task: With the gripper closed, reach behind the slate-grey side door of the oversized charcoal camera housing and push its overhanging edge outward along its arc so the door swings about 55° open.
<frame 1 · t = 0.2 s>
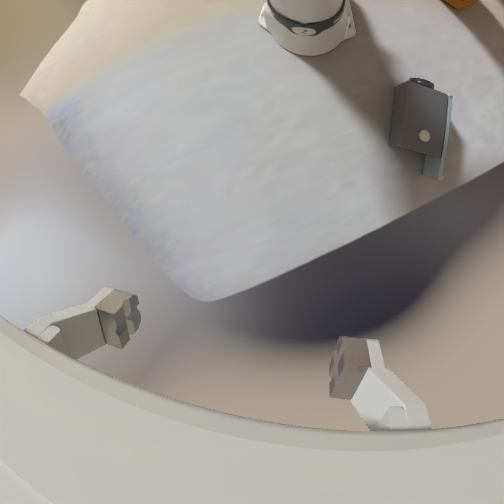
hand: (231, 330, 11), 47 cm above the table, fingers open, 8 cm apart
side door: (439, 136, 41), point 4 cm above the table, hinge at 0.0°
camera housing: (410, 120, 44), on the table
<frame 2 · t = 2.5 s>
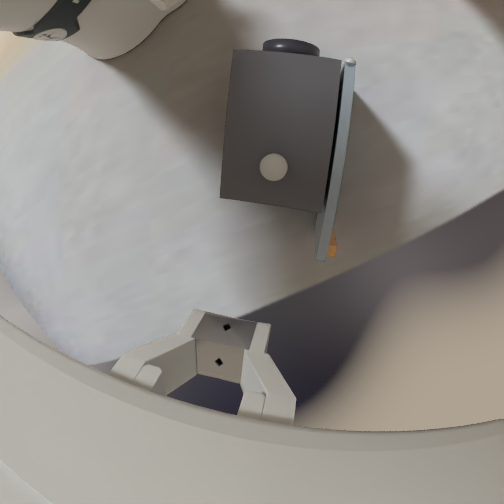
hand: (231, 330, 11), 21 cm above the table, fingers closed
side door: (339, 157, 23), point 4 cm above the table, hinge at 0.0°
camera housing: (286, 129, 27), on the table
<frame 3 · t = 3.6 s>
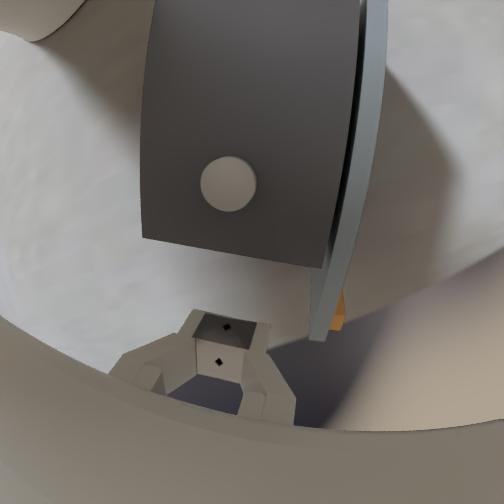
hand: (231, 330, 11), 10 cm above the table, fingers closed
side door: (354, 159, 13), point 4 cm above the table, hinge at 0.0°
camera housing: (267, 111, 16), on the table
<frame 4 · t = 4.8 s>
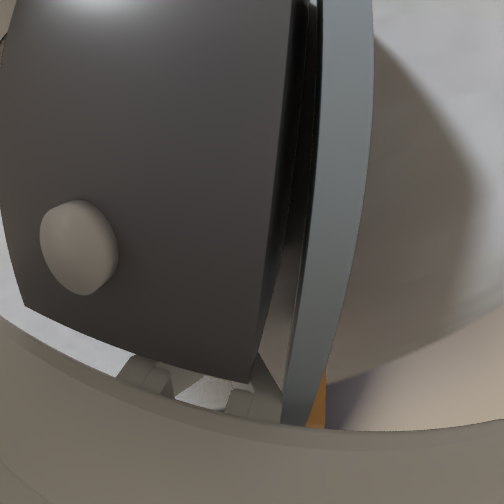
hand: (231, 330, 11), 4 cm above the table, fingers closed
side door: (338, 182, 8), point 4 cm above the table, hinge at 2.7°, touching gripper
camera housing: (208, 114, 12), on the table
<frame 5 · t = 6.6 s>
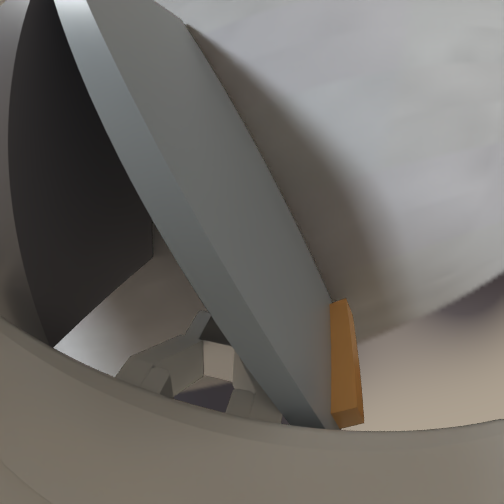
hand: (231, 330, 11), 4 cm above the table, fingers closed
side door: (239, 166, 8), point 4 cm above the table, hinge at 33.8°, touching gripper
camera housing: (92, 144, 13), on the table
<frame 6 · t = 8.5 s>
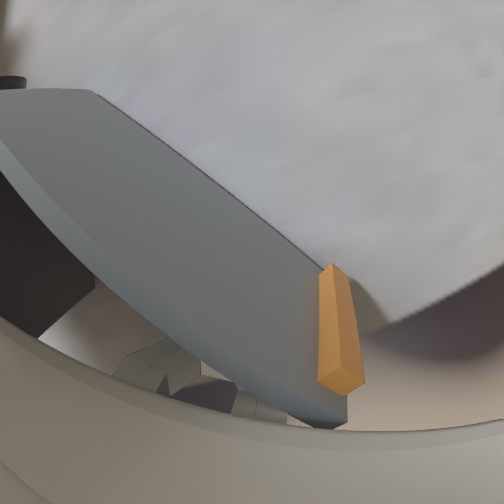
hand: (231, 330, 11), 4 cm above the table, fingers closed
side door: (153, 184, 9), point 4 cm above the table, hinge at 58.0°, touching gripper
camera housing: (44, 196, 15), on the table
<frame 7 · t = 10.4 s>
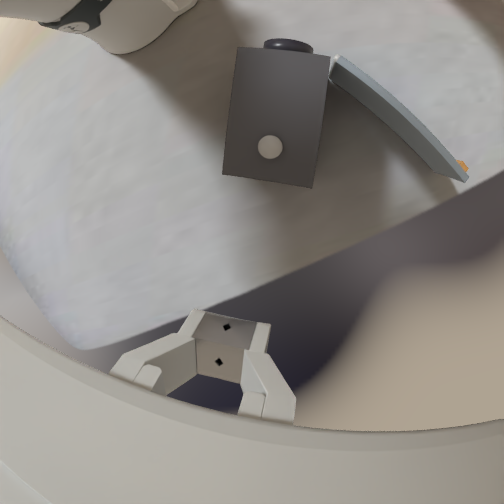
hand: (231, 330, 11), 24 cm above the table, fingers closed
side door: (399, 116, 23), point 4 cm above the table, hinge at 61.6°
camera housing: (283, 119, 29), on the table
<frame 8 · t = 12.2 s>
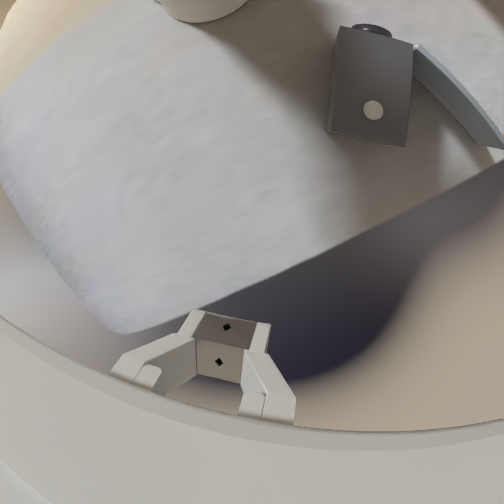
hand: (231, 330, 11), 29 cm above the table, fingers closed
side door: (456, 96, 24), point 4 cm above the table, hinge at 61.6°
camera housing: (361, 93, 30), on the table
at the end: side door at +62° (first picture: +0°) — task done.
